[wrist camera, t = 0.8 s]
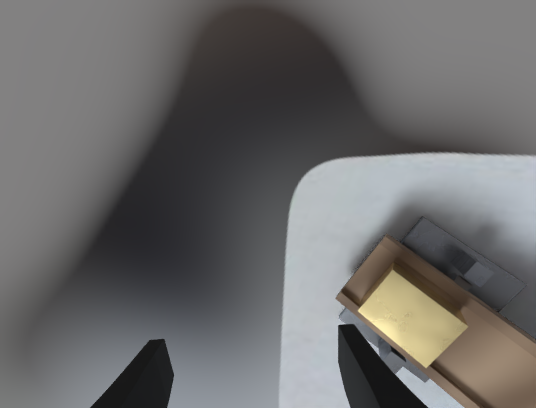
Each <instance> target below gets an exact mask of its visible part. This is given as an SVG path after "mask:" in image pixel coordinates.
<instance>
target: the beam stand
mask: <svg viewBox="0 0 536 408" xmlns="http://www.w3.org/2000/svg"><path fill="white" fill-rule="evenodd" d="M400 243H401V244H402V245H404V246H405V247H407V248H408V249H410V250H411V251H412V252H414V253H415V254H417V255H418V256H419V257H421V258H422V259H424V260H425V261H426V262H428V263H429V264H431V265H432V266H433V267H435V268H436V269H438V270H439V271H440V272H442V273H443V274H445V275H446V276H447V277H449V278H450V279H452V280H453V281H454V280H455V279H456V277H457V276H458V275H459V276H461V277H463V278H464V279H466V280H467V281H468V282H469V283H471V284H472V285H473V286H472V287H471V288H470V289H469V290H468V291H469V292H470V293H471V294H473V295H474V296H476V297H477V298H478V299H480V300H481V301H483V302H484V303H485V304H487V305H488V306H490V307H491V308H492V309H494V310H495V311H497V312H499V311H500V310H501V309H502V308H503V307H504V306H505V305H506V304H507V303H508V302H510V301H511V300H512V299H513V298H514V297H515V296H516V295H517V294H518V293H519V292H520V291H521V290H522V289H523V288H524V287H525V286H526V284H525V283H523V282H522V281H520V280H519V279H517V278H516V277H514V276H513V275H511V274H509V273H508V272H506V271H505V270H503V269H502V268H500V267H499V266H497V265H496V264H494V263H493V262H491V261H490V260H488V259H487V258H485V257H484V256H482V255H481V254H479V253H477V252H476V251H474V250H473V249H471V248H470V247H468V246H467V245H465V244H464V243H462V242H461V241H459V240H458V239H456V238H455V237H453V236H452V235H450V234H448V233H447V232H445V231H444V230H442V229H441V228H439V227H438V226H436V225H435V224H433V223H432V222H430V221H429V220H427V219H426V218H424V217H423V216H422V217H421V218H420V220H419V221H418V222H417V223H416V224H415V226H414V227H413V228H412V229H411V230H410V232H409V233H408V234H407V235H406V236H405V238H404V239H403V240H402V241H401V242H400ZM339 319H340V320H341V321H343V322H344V323H345V324H354V325H355V326H356V327H357V328H358V330H359V331H360V332H361V334H362V335H363V336H364V338H366V339H367V340H368V341H370V342H371V343H372V344H374V345H375V346H376V347H378V348H379V353H380V358H381V359H382V360H383V361H384V362H385V364H386V365H387V366H388V367H389V368H390V369H391V370H392V372H394V373H395V374H396V373H397V372H398V371H399V370H400V369H401V368H402V367H405V368H406V369H408V370H409V371H410V372H412V373H413V374H414V375H416V376H417V377H418V378H420V379H421V380H422V381H424V382H426V381H427V380H428V379H430V378H429V377H428V376H427V375H426V374H424V373H423V372H422V371H421V370H420V369H418V368H417V367H416V366H415V365H414V364H412V363H411V362H410V361H409V360H408V359H407V358H405V357H404V356H403V355H402V354H401V353H399V352H398V351H397V350H396V349H395V348H393V347H392V346H391V345H390V344H389V343H388V342H386V341H385V340H384V339H383V338H382V337H380V336H379V335H378V334H377V333H376V332H375V331H373V330H372V329H371V328H370V327H369V326H367V325H366V324H365V323H364V322H363V321H361V320H360V319H359V318H358V317H357V316H356V315H354V314H353V313H352V312H351V311H350V310H348V309H347V308H345V309H344V310H343V312H342V313H341V314H340V315H339Z"/></svg>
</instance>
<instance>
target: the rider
mask: <svg viewBox="0 0 536 408" xmlns="http://www.w3.org/2000/svg"><path fill="white" fill-rule="evenodd" d="M358 312H359V313H361V314H362V315H363V316H364V317H365V318H367V319H368V320H369V321H370V322H371V323H373V324H374V325H375V326H376V327H377V328H379V329H380V330H381V331H382V332H383V333H385V334H386V335H387V336H388V337H389V338H390V339H392V340H393V341H394V342H395V343H396V344H398V345H399V346H400V347H401V348H402V349H404V350H405V351H406V352H407V353H408V354H410V355H411V356H412V357H413V358H414V359H416V360H417V361H418V362H419V363H420V364H422V365H423V366H424V367H425V368H427V367H428V366H429V365H430V364H431V363H432V362H433V361H434V360H435V359H436V358H437V357H438V356H439V355H440V354H441V353H442V352H443V351H444V350H445V349H446V348H447V347H448V346H449V345H450V344H451V343H452V342H453V341H454V340H455V339H456V338H457V337H458V336H459V335H460V334H461V333H462V332H463V331H465V330H466V329H467V328H468V325H467V323H466V321H465V319H464V317H463V315H462V313H461V311H460V310H459V309H457V308H456V307H455V306H453V305H452V304H451V303H449V302H448V301H447V300H445V299H444V298H443V297H441V296H440V295H439V294H437V293H436V292H434V291H433V290H432V289H430V288H429V287H428V286H426V285H425V284H424V283H422V282H421V281H420V280H418V279H417V278H416V277H414V276H413V275H411V274H410V273H409V272H407V271H406V270H405V269H403V268H402V267H401V266H399V265H398V264H397V263H395V262H393V263H392V264H391V265H390V266H389V267H388V269H387V270H386V271H385V272H384V273H383V275H382V276H381V277H380V278H379V279H378V280H377V282H376V283H375V284H374V285H373V286H372V288H371V289H370V290H369V291H368V292H367V293H366V295H365V296H364V297H363V298H362V300H361V303H360V306H359V308H358Z"/></svg>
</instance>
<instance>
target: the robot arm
mask: <svg viewBox="0 0 536 408" xmlns="http://www.w3.org/2000/svg"><path fill="white" fill-rule="evenodd" d="M338 363H339V367H340V372H341V376H342V381H343V385H344V389H345V392H346V395H347V398H348V401H349V404H350V407H351V408H428V407H427V406H426V405H425V404H424V403H423V402H422V401H421V400H420V399H418V398H417V397H416V396H415V395H414V394H413V393H412V392H411V391H410V390H409V389H408V388H407V386H406V385H405V384H404V383H403V382H402V381H401V380H400V379H399V378H398V377H397V376H396V375H395V374H394V373H393V372H392V370H391V369H390V368H389V367H388V366H387V365H386V364H385V362H384V361H383V360H382V359H381V358H380V357H379V355H378V354H377V353H376V352H375V351H374V349H373V348H372V347H371V346H370V344H369V343H368V342H367V340H366V339H365V338H364V336H363V335H362V334H361V332H360V331H359V330H358V328H357V327H356V326H355V325H354V324H344V325H338ZM173 377H174V373H173V370H172V366H171V362H170V358H169V354H168V351H167V347H166V344H165V340H164V339H158V340H149V342H148V343H147V344H146V345H145V346H144V347H143V349H142V350H141V351H140V352H139V353H138V355H137V356H136V357H135V358H134V359H133V360H132V362H131V363H130V364H129V365H128V366H127V367H126V369H125V370H124V371H123V372H122V373H121V374H120V376H119V377H118V378H117V379H116V380H115V381H114V382H113V384H112V385H111V386H110V387H109V388H108V389H107V390H106V391H105V393H104V394H103V395H102V396H101V397H100V398H99V399H98V400H97V401H96V402H95V403H94V404H93V405H92V406H91V407H90V408H167V406H168V402H169V398H170V393H171V388H172V383H173Z"/></svg>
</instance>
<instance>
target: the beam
mask: <svg viewBox="0 0 536 408" xmlns="http://www.w3.org/2000/svg"><path fill="white" fill-rule="evenodd" d="M393 262H395V263H397V264H398V265H399V266H401V267H402V268H403V269H405V270H406V271H407V272H409V273H410V274H411V275H413V276H414V277H416V278H417V279H418V280H420V281H421V282H422V283H424V284H425V285H426V286H428V287H429V288H430V289H432V290H433V291H434V292H436V293H437V294H439V295H440V296H441V297H443V298H444V299H445V300H447V301H448V302H449V303H451V304H452V305H453V306H455V307H456V308H457V309H459V310H460V311H461V313H462V315H463V317H464V319H465V321H466V323H467V325H468V328H467V329H466V330H465V331H463V332H462V333H461V334H460V335H459V336H458V337H457V338H456V339H455V340H454V341H453V342H452V343H451V344H450V345H449V346H448V347H447V348H446V349H445V350H444V351H443V352H442V353H441V354H440V355H439V356H438V357H437V358H436V359H435V360H434V361H433V362H432V363H431V364H430V365H429V366H428V367H427V368H425V367H424V366H423V365H422V364H420V363H419V362H418V361H417V360H416V359H414V358H413V357H412V356H411V355H410V354H408V353H407V352H406V351H405V350H404V349H402V348H401V347H400V346H399V345H398V344H396V343H395V342H394V341H393V340H392V339H390V338H389V337H388V336H387V335H386V334H385V333H383V332H382V331H381V330H380V329H379V328H377V327H376V326H375V325H374V324H373V323H371V322H370V321H369V320H368V319H367V318H365V317H364V316H363V315H362V314H361V313H359V312H358V308H359V306H360V303H361V300H362V298H363V297H364V296H365V295H366V293H367V292H368V291H369V290H370V289H371V288H372V286H373V285H374V284H375V283H376V282H377V280H378V279H379V278H380V277H381V276H382V275H383V273H384V272H385V271H386V270H387V269H388V267H389V266H390V265H391V264H392V263H393ZM472 286H473V285H472V284H471V283H469V282H468V281H467V280H466V279H464V278H463V277H461V276H459V275H458V276H457V277H456V279H455V280H454V281H453V280H452V279H450V278H449V277H447V276H446V275H445V274H443V273H442V272H440V271H439V270H438V269H436V268H435V267H433V266H432V265H431V264H429V263H428V262H426V261H425V260H424V259H422V258H421V257H419V256H418V255H417V254H415V253H414V252H412V251H411V250H410V249H408V248H407V247H405V246H404V245H402V244H401V243H400V242H398V241H397V240H395V239H394V238H393V237H391V236H390V235H388V234H386V235H385V236H384V238H383V239H382V240H381V241H380V243H379V244H378V245H377V246H376V247H375V249H374V250H373V251H372V252H371V254H370V255H369V256H368V257H367V259H366V260H365V261H364V262H363V263H362V265H361V266H360V267H359V268H358V270H357V271H356V272H355V273H354V275H353V276H352V277H351V278H350V279H349V281H348V282H347V283H346V284H345V286H344V287H343V288H342V289H341V291H340V292H339V294H338V295H337V297H336V298H335V299H337V300H338V301H339V302H340V303H341V304H342V305H344V306H345V307H346V308H347V309H348V310H350V311H351V312H352V313H353V314H354V315H356V316H357V317H358V318H359V319H360V320H361V321H363V322H364V323H365V324H366V325H367V326H369V327H370V328H371V329H372V330H373V331H375V332H376V333H377V334H378V335H379V336H380V337H382V338H383V339H384V340H385V341H386V342H388V343H389V344H390V345H391V346H392V347H393V348H395V349H396V350H397V351H398V352H399V353H401V354H402V355H403V356H404V357H405V358H407V359H408V360H409V361H410V362H411V363H412V364H414V365H415V366H416V367H417V368H418V369H420V370H421V371H422V372H423V373H424V374H426V375H427V376H428V377H429V378H430V379H431V380H433V381H434V382H435V383H436V384H437V385H439V386H440V387H441V388H442V389H443V390H444V391H446V392H447V393H448V394H449V395H450V396H452V397H453V398H454V399H455V400H456V401H458V402H459V403H460V404H461V405H462V406H463V407H465V408H536V339H535V338H533V337H532V336H530V335H529V334H528V333H526V332H525V331H523V330H522V329H520V328H519V327H518V326H516V325H515V324H513V323H512V322H511V321H509V320H508V319H506V318H505V317H504V316H502V315H501V314H499V313H498V312H497V311H495V310H494V309H492V308H491V307H490V306H488V305H487V304H485V303H484V302H483V301H481V300H480V299H478V298H477V297H476V296H474V295H473V294H471V293H470V292H469V291H468V290H469V289H470V288H471V287H472Z"/></svg>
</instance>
